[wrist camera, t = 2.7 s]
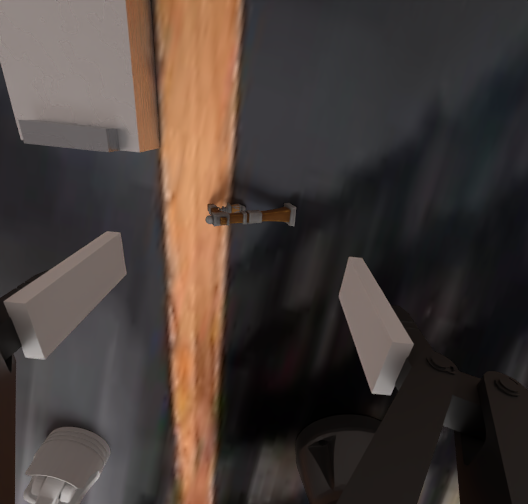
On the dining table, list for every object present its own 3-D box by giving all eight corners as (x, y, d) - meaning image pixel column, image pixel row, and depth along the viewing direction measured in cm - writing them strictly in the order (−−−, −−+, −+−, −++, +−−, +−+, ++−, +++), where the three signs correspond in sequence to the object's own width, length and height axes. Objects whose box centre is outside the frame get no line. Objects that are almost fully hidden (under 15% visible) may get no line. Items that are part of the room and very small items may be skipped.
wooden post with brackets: (197, 197, 25) (207, 212, 22) (277, 195, 28) (297, 208, 25) (198, 216, 26) (207, 233, 22) (275, 212, 29) (295, 227, 25)
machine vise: (141, -143, 17) (86, -252, 12) (160, 147, 24) (130, 154, 19) (-19, -161, 17) (-141, -277, 12) (47, 135, 24) (-12, 139, 19)
